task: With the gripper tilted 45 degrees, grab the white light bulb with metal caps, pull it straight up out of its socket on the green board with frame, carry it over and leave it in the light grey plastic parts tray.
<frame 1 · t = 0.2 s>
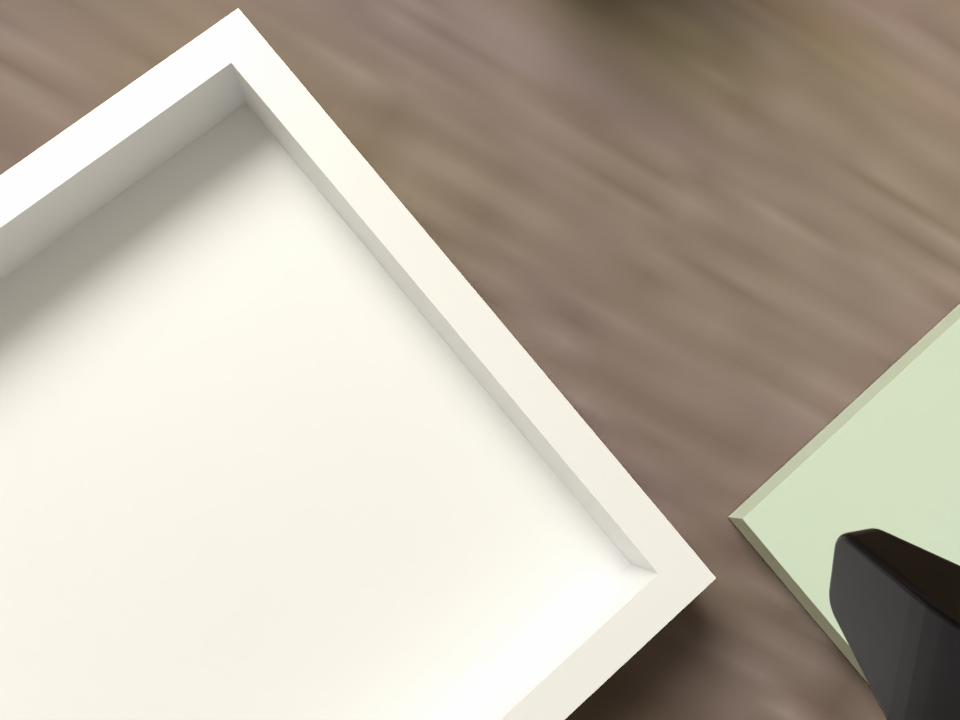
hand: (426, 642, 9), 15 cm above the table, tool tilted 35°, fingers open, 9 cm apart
parts tray: (197, 528, 23), on the table
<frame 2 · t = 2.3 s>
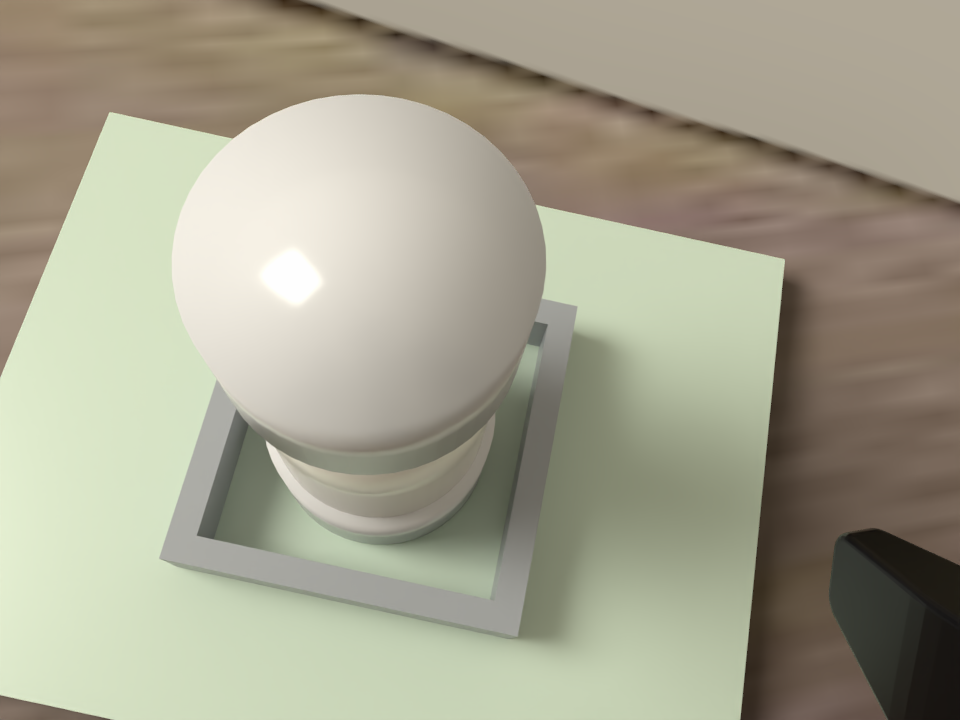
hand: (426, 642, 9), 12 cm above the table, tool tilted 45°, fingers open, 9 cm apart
green board with frame: (384, 451, 22), on the table
white light bulb: (383, 441, 21), point 1 cm above the table, touching green board with frame
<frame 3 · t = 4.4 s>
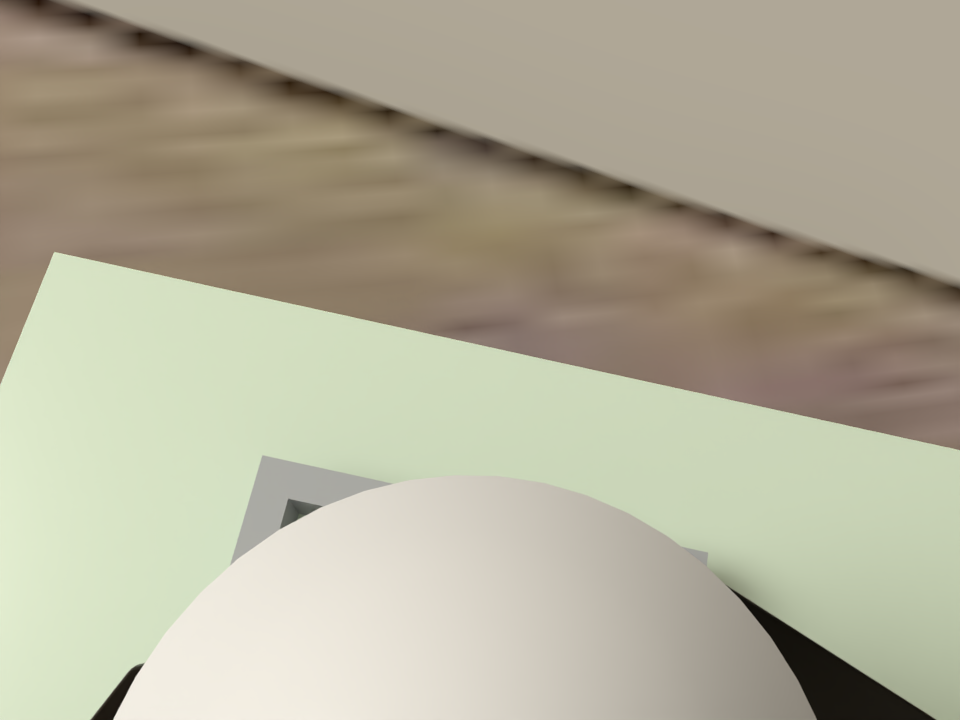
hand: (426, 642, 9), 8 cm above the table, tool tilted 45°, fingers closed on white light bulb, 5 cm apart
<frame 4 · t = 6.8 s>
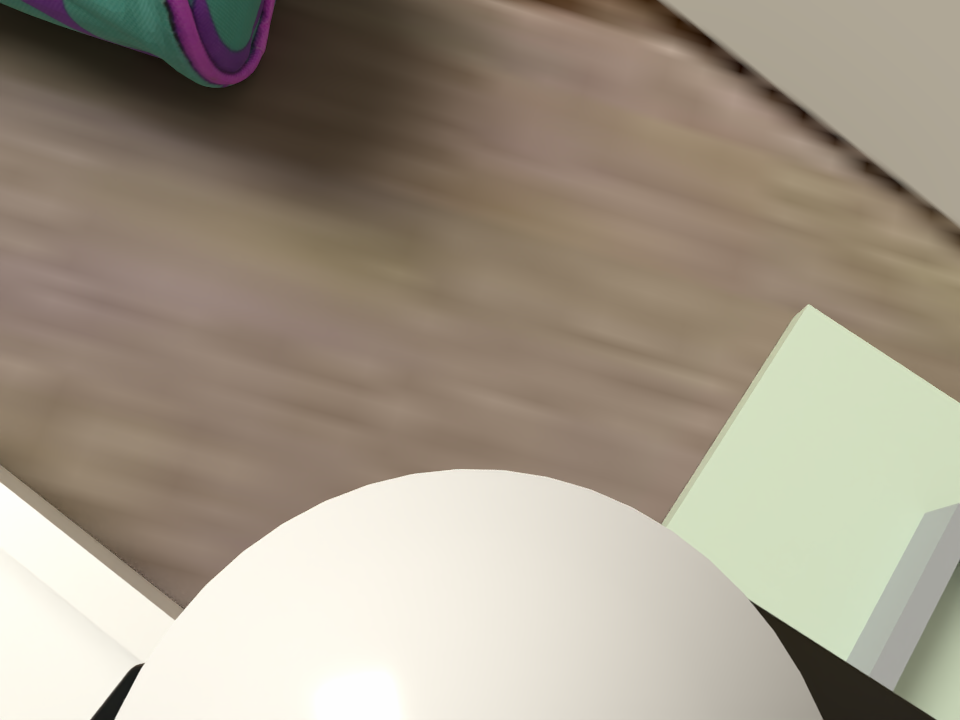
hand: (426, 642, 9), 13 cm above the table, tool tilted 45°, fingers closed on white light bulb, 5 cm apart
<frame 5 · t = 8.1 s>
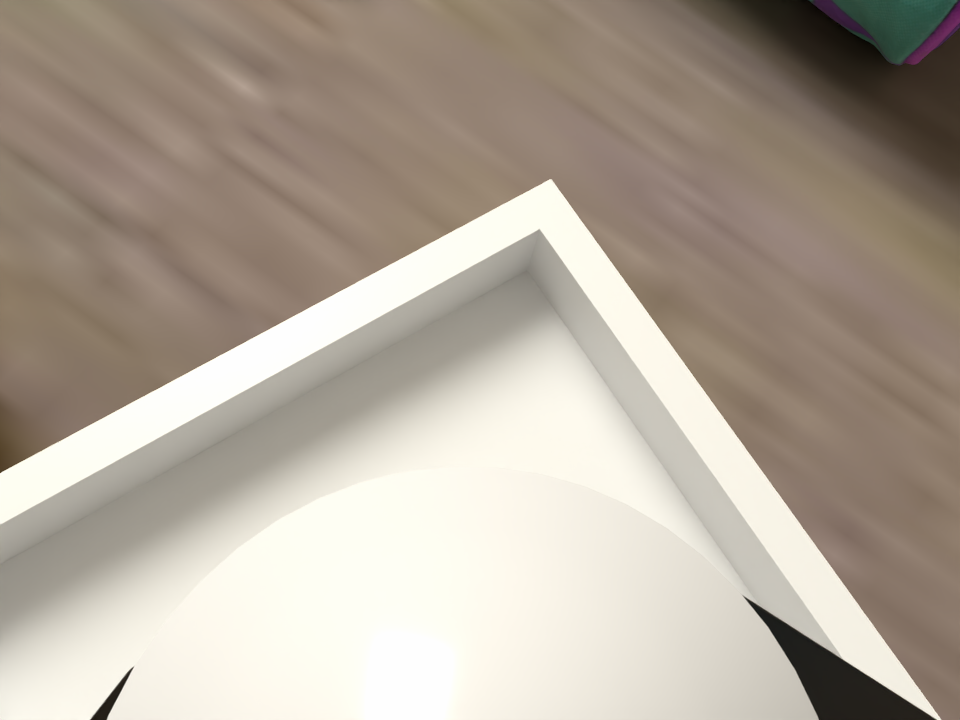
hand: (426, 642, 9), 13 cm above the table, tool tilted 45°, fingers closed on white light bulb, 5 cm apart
parts tray: (425, 714, 21), on the table
when the fingers open (8 cm above the table, at t = 9.3 s): white light bulb drops 1 cm, resting on parts tray.
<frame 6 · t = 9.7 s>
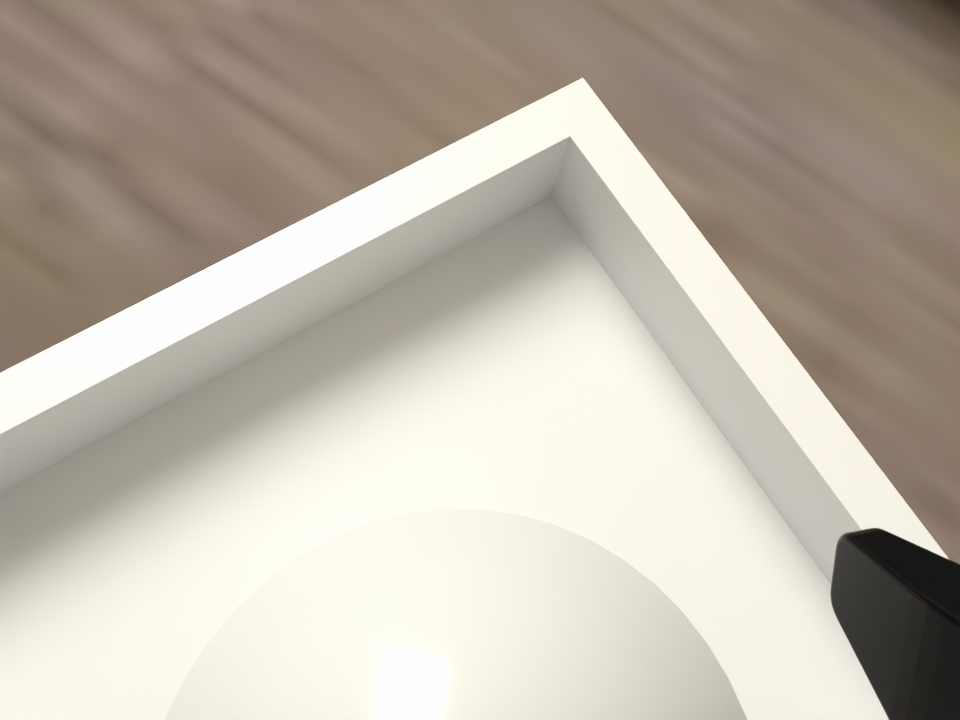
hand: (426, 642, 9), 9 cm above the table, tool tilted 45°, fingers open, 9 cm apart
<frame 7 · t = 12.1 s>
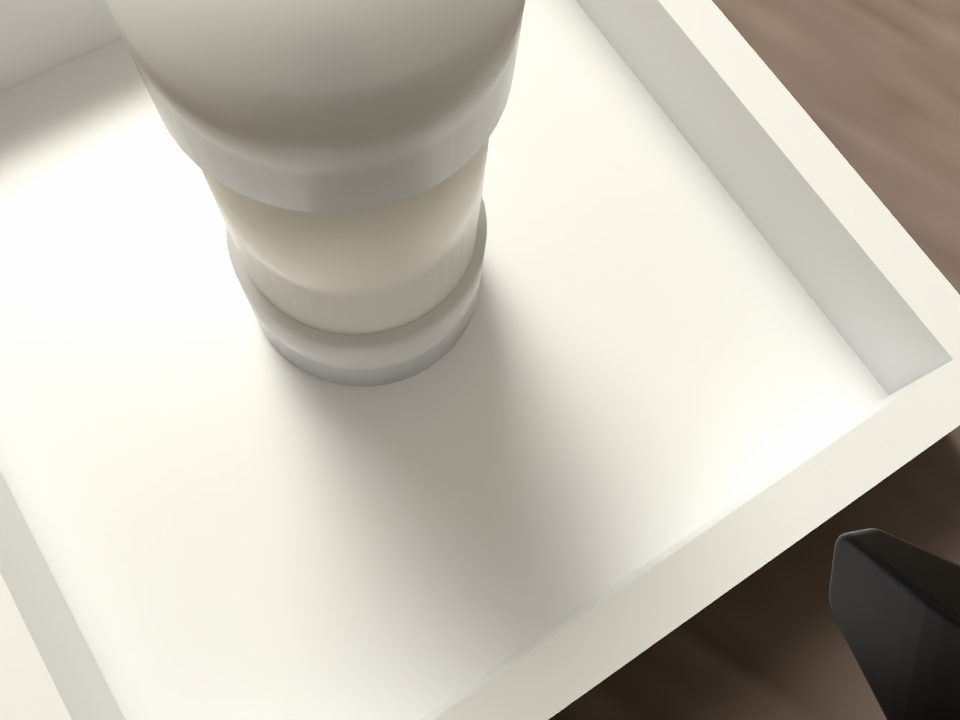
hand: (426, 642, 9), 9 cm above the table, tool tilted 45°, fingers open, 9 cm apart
parts tray: (367, 289, 20), on the table
white light bulb: (365, 277, 19), point 1 cm above the table, touching parts tray
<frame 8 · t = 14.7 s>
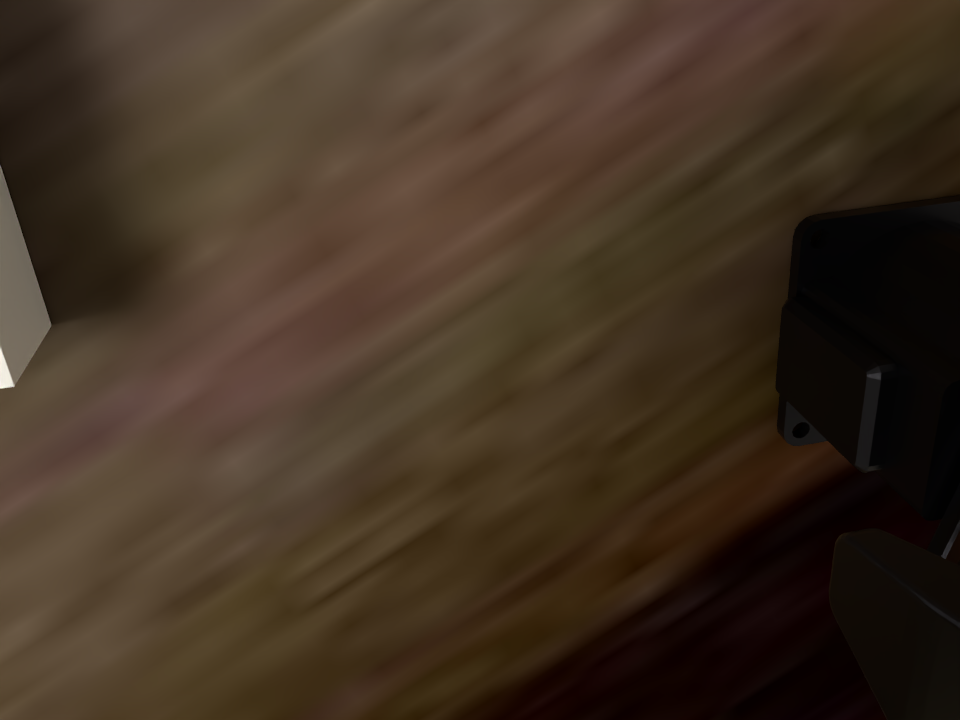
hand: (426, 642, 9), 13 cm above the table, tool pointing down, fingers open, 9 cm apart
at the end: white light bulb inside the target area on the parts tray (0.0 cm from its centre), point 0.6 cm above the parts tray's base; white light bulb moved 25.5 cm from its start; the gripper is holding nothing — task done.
